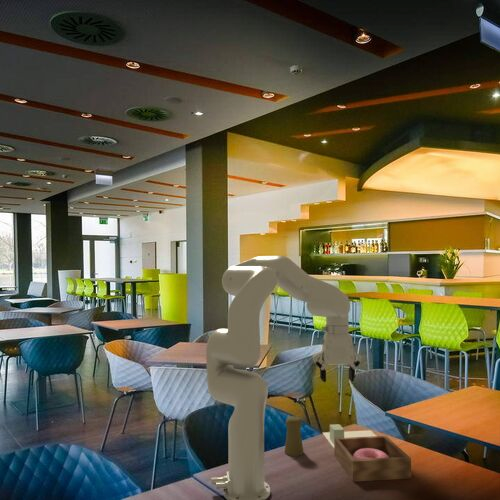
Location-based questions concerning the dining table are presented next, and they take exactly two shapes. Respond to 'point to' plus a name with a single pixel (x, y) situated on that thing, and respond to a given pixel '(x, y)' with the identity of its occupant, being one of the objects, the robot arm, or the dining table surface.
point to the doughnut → (369, 454)
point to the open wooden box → (372, 468)
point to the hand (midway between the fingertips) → (337, 380)
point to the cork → (293, 437)
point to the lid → (344, 433)
